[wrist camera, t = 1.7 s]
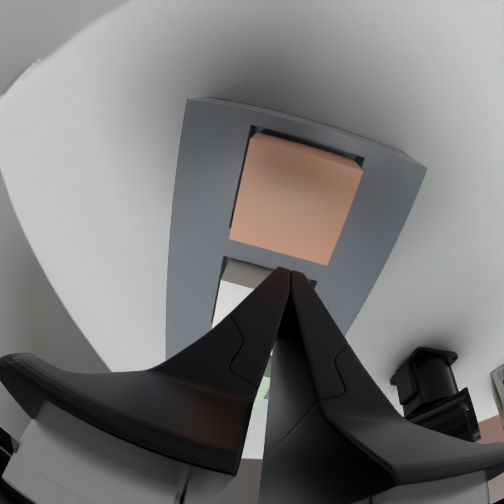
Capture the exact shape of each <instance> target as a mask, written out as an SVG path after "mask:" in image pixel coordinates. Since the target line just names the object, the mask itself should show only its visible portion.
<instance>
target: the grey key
mask: <svg viewBox="0 0 504 504" xmlns="http://www.w3.org/2000/svg"><path fill="white" fill-rule="evenodd" d="M272 271H273V270H271V269H268V268H264V267H260V266H257V265H253V264H249V263H246V262H242V261H238V260H235V259H231V258H230V259H229V262H228V264H227V266H226V269H225V271H224V274H223V276H222V278H221V282H220V287H219V292H218V298H217V303H216V308H215V314H214V319H213V325H212V328H214V327H215V326H216V325H217V324H218V323H219V322H220V321H221V320H223V319H224V318H225V317H226V316H227V315H228V314H229V313H230V312H231V311H232V310H233V309H234V308H235V307H236V306H237V305H238V304H239V303H240V302H241V301H243V300H244V299H245V298H246V297H247V296H248V295H249V294H250V293H251V292H252V291H253V290H254V289H255V288H256V287H257V286H258V285H259V284H260V283H261V282H262V281H263V280H264V279H265V278H266V277H267V276H268V275H269V274H270V273H271V272H272ZM308 281H309V282H310V280H309V279H308ZM271 355H272V352H271Z"/></svg>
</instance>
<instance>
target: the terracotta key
mask: <svg viewBox="0 0 504 504" xmlns="http://www.w3.org/2000/svg"><path fill="white" fill-rule="evenodd" d="M362 174H363V170H362V169H361V168H360V166H359V165H358V164H357V163H356V161H355V160H353V159H350V158H347V157H344V156H341V155H338V154H334V153H331V152H328V151H325V150H322V149H318V148H315V147H312V146H308V145H305V144H301V143H298V142H294V141H290V140H287V139H283V138H279V137H275V136H271V135H267V134H263V133H259V132H257V133H256V134H255V135H254V136H253V137H252V138H250V142H249V147H248V151H247V156H246V160H245V165H244V169H243V174H242V179H241V183H240V188H239V193H238V197H237V202H236V207H235V212H234V216H233V221H232V226H231V231H230V236H229V239H231V240H235V241H238V242H242V243H246V244H249V245H253V246H257V247H260V248H264V249H268V250H271V251H275V252H279V253H282V254H286V255H290V256H293V257H297V258H301V259H304V260H308V261H312V262H315V263H319V264H323V265H326V266H327V265H328V262H329V260H330V257H331V255H332V253H333V250H334V248H335V245H336V243H337V240H338V238H339V235H340V233H341V230H342V228H343V225H344V223H345V220H346V217H347V215H348V212H349V210H350V207H351V204H352V202H353V199H354V196H355V193H356V191H357V188H358V185H359V182H360V180H361V177H362Z"/></svg>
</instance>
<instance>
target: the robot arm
mask: <svg viewBox="0 0 504 504" xmlns="http://www.w3.org/2000/svg"><path fill="white" fill-rule="evenodd" d="M271 352H272V363H271V375H270V388H269V399H268V411H267V422H266V432H265V443H264V452H263V463H262V471H261V480H260V489H259V499H258V504H490V498H489V488H488V481H489V480H491V479H493V478H495V477H496V476H498V475H500V474H501V473H503V472H504V443H503V442H495V443H491V444H479V443H475V442H476V441H478V440H480V439H481V436H480V431H479V427H478V422H477V418H476V415H475V411H474V408H473V404H472V401H471V398H470V395H469V392H468V388H467V387H466V388H464V389H463V390H461V391H460V392H459V391H458V387H457V384H456V381H455V378H454V375H453V372H452V369H451V365H452V364H453V363H454V362H455V361H456V360H457V358H458V355H457V353H451V352H445V351H439V350H432V349H426V348H418V349H417V350H416V351H415V352H414V353H413V355H412V356H411V357H410V358H409V359H408V361H407V362H406V363H405V364H404V365H403V366H402V367H401V369H400V370H399V371H398V372H397V373H396V374H395V375H394V376H393V378H392V379H391V380H390V384H391V385H396V386H397V390H398V396H399V402H400V405H403V411H404V417H402V416H401V415H400V414H399V413H398V412H397V410H396V409H395V408H394V407H393V405H392V404H391V403H390V401H389V400H388V399H387V397H386V396H385V395H384V393H383V392H382V391H381V389H380V388H379V387H378V385H377V384H376V383H375V382H374V380H373V379H372V378H371V376H370V375H369V373H368V372H367V371H366V369H365V368H364V367H363V365H362V364H361V362H360V360H359V359H358V357H357V356H356V354H355V353H354V351H353V350H352V348H351V346H350V345H349V344H348V342H347V340H346V339H345V337H344V335H343V334H342V332H341V331H340V329H339V327H338V326H337V324H336V323H335V321H334V319H333V318H332V316H331V315H330V313H329V312H328V310H327V308H326V307H325V305H324V304H323V302H322V301H321V299H320V298H319V296H318V294H317V293H316V291H315V290H314V288H313V287H312V285H311V284H310V282H309V281H308V279H307V277H306V276H305V274H304V273H302V272H299V271H295V270H291V271H290V269H288V268H284V267H280V266H278V267H276V268H275V269H274V270H273V271H272V272H271V273H270V274H269V275H268V276H267V277H266V278H265V279H264V280H263V281H262V282H261V283H260V284H259V285H258V286H257V287H256V288H255V289H254V290H253V291H252V292H251V293H250V294H249V295H248V296H247V297H246V298H245V299H244V300H243V301H241V302H240V303H239V304H238V305H237V306H236V307H235V308H234V309H233V310H232V311H231V312H230V313H229V314H228V315H227V316H226V317H225V318H224V319H223V320H221V321H220V322H219V323H218V324H217V325H216V326H215V327H214V328H212V329H211V330H210V331H209V332H207V333H206V334H205V335H203V336H202V337H201V338H199V339H198V340H196V341H195V342H193V343H192V344H190V345H189V346H187V347H186V348H184V349H183V350H181V351H180V352H178V353H177V354H175V355H174V356H172V357H171V358H169V359H168V360H166V361H164V362H163V363H161V364H159V365H157V366H155V367H153V368H150V369H147V370H143V371H129V372H110V373H77V372H71V371H67V370H64V369H60V368H58V367H56V366H54V365H52V364H50V363H48V362H47V361H45V360H43V359H42V358H40V357H38V356H36V355H34V354H31V353H15V354H9V355H6V356H3V357H1V358H0V381H1V382H2V384H3V385H4V386H5V388H6V389H7V390H8V391H9V393H10V394H11V395H12V397H13V398H14V399H15V400H16V401H17V403H18V404H19V405H20V406H21V407H22V408H23V410H24V411H25V412H26V413H27V414H28V415H29V416H30V418H31V419H32V421H31V423H30V424H29V426H28V427H27V430H26V431H25V433H24V435H23V436H22V438H21V440H20V442H19V443H18V441H16V440H15V439H14V438H13V437H12V436H10V435H9V434H8V433H7V432H6V431H4V430H3V429H2V428H1V427H0V504H210V503H211V502H212V501H213V500H214V499H215V498H216V497H217V496H218V494H219V493H220V492H222V491H223V489H224V488H225V487H226V486H227V485H228V484H229V483H230V482H231V481H232V480H233V479H234V478H235V477H236V475H237V471H238V468H239V465H240V461H241V456H242V452H243V448H244V444H245V439H246V435H247V430H248V426H249V421H250V417H251V412H252V408H253V405H254V402H255V398H256V396H257V393H258V389H259V387H260V384H261V381H262V378H263V375H264V372H265V369H266V367H267V364H268V361H269V358H270V355H271ZM466 409H468V410H466ZM493 504H504V498H503V499H501V500H499V501H497V502H495V503H493Z"/></svg>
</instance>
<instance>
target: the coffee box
mask: <svg viewBox="0 0 504 504" xmlns="http://www.w3.org/2000/svg"><path fill="white" fill-rule="evenodd" d="M491 382H492V390H493V397H494V400H495V403H496V406H497V409H498V412H499V415H500V418H501V422H502V425H503V429H504V365H503V366H501V367H499V368H498V369H496V370H495V371H493V372H492V373H491Z"/></svg>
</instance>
